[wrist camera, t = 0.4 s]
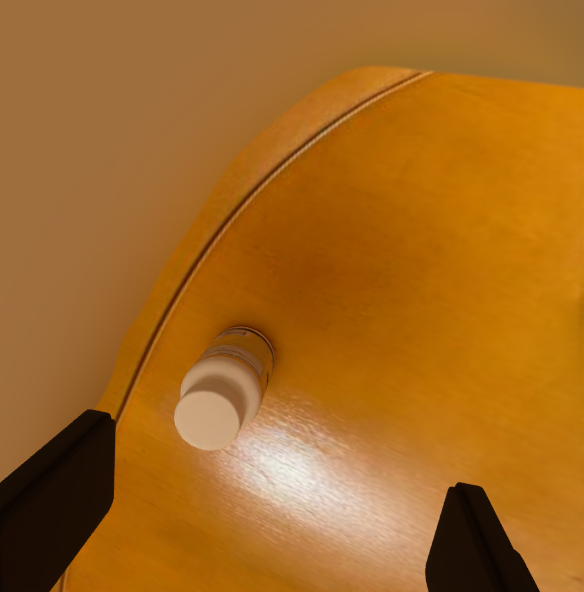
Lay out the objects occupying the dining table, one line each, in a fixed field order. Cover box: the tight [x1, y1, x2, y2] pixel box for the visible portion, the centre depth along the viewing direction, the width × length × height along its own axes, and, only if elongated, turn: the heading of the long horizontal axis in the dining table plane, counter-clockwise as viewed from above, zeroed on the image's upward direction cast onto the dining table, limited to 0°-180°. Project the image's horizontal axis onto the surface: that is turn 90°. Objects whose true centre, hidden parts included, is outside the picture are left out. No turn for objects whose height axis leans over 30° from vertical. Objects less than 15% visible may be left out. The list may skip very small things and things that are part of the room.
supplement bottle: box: [174, 326, 274, 451], centre depth 27 cm, size 5×5×10 cm
